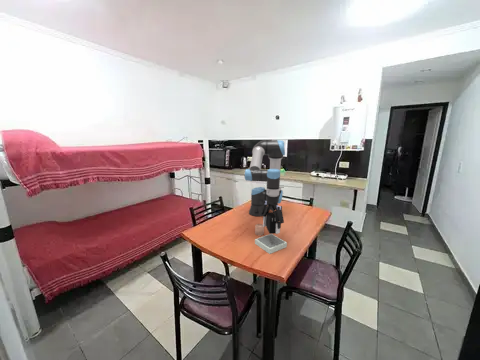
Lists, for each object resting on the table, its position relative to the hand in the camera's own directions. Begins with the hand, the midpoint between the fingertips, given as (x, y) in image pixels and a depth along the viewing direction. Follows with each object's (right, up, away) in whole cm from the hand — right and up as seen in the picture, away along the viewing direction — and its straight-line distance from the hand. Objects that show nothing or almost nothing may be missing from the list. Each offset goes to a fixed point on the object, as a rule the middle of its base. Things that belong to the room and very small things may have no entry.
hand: (271, 229), depth 124 cm
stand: (0, -10, +2) cm, 11 cm away
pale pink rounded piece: (-6, -7, +18) cm, 20 cm away
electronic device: (0, -1, 0) cm, 1 cm away
